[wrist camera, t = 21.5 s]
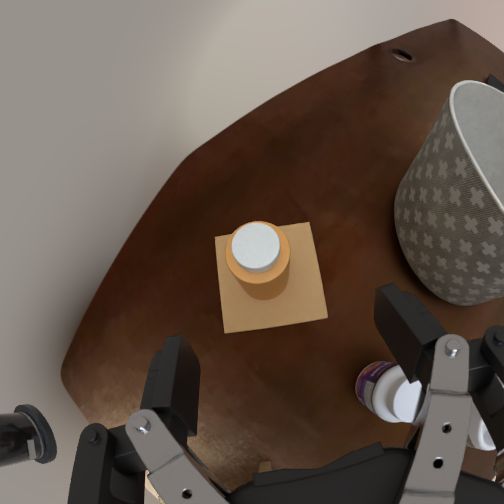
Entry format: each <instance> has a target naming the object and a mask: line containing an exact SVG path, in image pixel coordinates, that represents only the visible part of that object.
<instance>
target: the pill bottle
mask: <svg viewBox="0 0 504 504" xmlns="http://www.w3.org/2000/svg"><path fill="white" fill-rule="evenodd" d="M420 388H421V383H420V382H419V380H418V381H416V382H414V383H412V384H410V383H409V381H408V380H407V378H406V376H405V374H404V373H403V371H402V369H401V368H400V366H399V364H398V363H395V362H388V361H378V362H374V363H372V364H370V365H368V366H367V367H365V368H364V369H363V370H362V372H361V373H360V374H359V376H358V378H357V381H356V387H355V390H356V395H357V397H358V399H359V401H360V402H361V403H362V404H363V405H364V406H366V407H367V408H368V409H370V410H371V411H372V412H373V413H375V414H376V415H377V416H379V417H380V418H382V419H383V420H385V421H388V422H401V421H403V422H412V420H413V416H414V413H415V409H416V405H417V401H418V396H419V392H420Z"/></svg>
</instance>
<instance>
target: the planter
mask: <svg viewBox="0 0 504 504" xmlns="http://www.w3.org/2000/svg"><path fill="white" fill-rule="evenodd" d="M394 220H395V227H396V232H397V236H398V240H399V243H400V246H401V248H402V251H403V253H404V255H405V257H406V259H407V261H408V263H409V265H410V266H411V268H412V270H413V271H414V273H415V274H416V275H417V277H418V278H419V279H420V280H421V282H422V283H423V284H424V285H425V286H426V287H427V288H428V289H429V290H430V291H431V292H433V293H434V294H435V295H437V296H438V297H440V298H441V299H443V300H445V301H447V302H449V303H452V304H455V305H459V306H472V305H477V304H480V303H484V302H487V301H490V300H493V299H496V298H499V297H502V296H504V93H503V92H501V91H500V90H498V89H496V88H494V87H492V86H490V85H487V84H484V83H481V82H477V81H461V82H459V83H457V84H456V85H454V87H453V88H452V89H451V91H450V93H449V95H448V98H447V100H446V102H445V104H444V106H443V108H442V110H441V111H440V113H439V115H438V117H437V119H436V121H435V123H434V125H433V127H432V129H431V130H430V132H429V134H428V136H427V138H426V140H425V141H424V143H423V145H422V147H421V148H420V150H419V152H418V154H417V155H416V157H415V159H414V160H413V162H412V164H411V165H410V167H409V169H408V170H407V172H406V174H405V175H404V177H403V179H402V180H401V182H400V184H399V186H398V189H397V192H396V196H395V202H394Z"/></svg>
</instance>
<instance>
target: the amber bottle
mask: <svg viewBox="0 0 504 504" xmlns="http://www.w3.org/2000/svg"><path fill="white" fill-rule="evenodd" d="M290 252H291V250H290V244H289V241H288V239H287V237H286V235H285V234H284V233H283V231H282V230H280V229H279V228H278V227H277V226H275V225H273V224H270V223H267V222H262V221H256V222H250V223H247V224H244V225H242V226H241V227H239V228H238V229H236V230H235V231H234V232H233V233H232V235H231V236H230V237H229V239H228V241H227V244H226V248H225V259H226V263H227V266H228V268H229V269H230V271H231V272H232V274H233V275H234V276H235V278H236V279H237V280H238V282H239V283H240V285H241V286H242V287H243V289H244V290H245V291H246V292H247V293H248V294H249V295H250V296H252V297H253V298H256V299H259V300H269V299H272V298H275V297H277V296H278V295H280V294H281V293H282V292H283V291H284V289H285V288H286V286H287V283H288V279H289V267H290Z"/></svg>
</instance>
